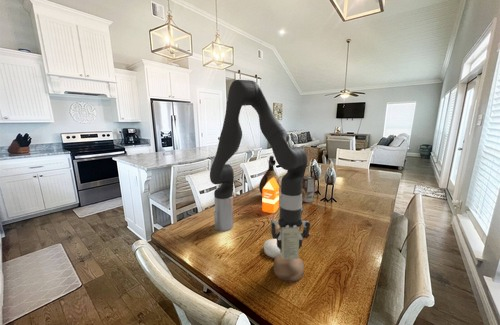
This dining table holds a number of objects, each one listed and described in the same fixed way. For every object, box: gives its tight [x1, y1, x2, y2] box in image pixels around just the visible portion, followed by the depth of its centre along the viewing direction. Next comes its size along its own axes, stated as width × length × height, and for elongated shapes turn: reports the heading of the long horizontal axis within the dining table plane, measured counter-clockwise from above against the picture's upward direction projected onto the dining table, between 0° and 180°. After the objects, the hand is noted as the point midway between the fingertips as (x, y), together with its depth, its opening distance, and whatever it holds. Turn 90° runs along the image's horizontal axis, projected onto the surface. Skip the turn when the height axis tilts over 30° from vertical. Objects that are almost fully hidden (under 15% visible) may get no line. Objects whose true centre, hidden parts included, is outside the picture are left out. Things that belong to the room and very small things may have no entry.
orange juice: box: [261, 177, 280, 214], centre depth 127 cm, size 8×9×20 cm
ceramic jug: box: [258, 155, 281, 195], centre depth 146 cm, size 17×15×30 cm
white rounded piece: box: [263, 238, 281, 259], centre depth 88 cm, size 10×10×2 cm
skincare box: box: [279, 226, 300, 259], centre depth 74 cm, size 6×4×12 cm
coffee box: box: [302, 175, 316, 203], centre depth 142 cm, size 9×6×16 cm
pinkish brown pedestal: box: [273, 255, 305, 283], centre depth 77 cm, size 11×11×3 cm
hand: (289, 247), depth 75 cm, fingers closed on skincare box, 6 cm apart
